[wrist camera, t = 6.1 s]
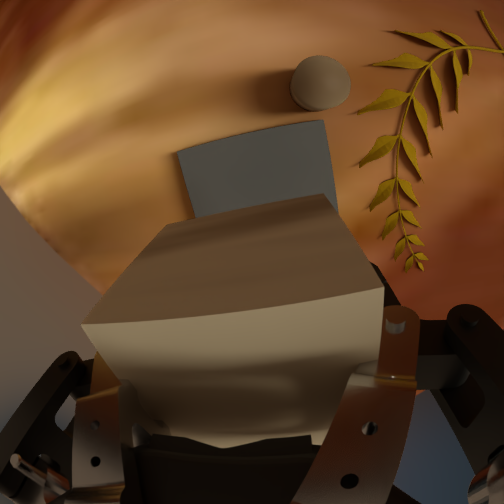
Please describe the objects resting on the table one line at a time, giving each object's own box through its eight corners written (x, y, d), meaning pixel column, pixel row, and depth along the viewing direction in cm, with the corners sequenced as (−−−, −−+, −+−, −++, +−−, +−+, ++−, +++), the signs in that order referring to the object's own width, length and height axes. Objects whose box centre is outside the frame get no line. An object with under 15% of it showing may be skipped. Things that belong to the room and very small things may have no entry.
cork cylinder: (284, 71, 17) (287, 59, 13) (330, 65, 16) (343, 53, 13) (295, 114, 19) (300, 111, 15) (340, 108, 18) (356, 105, 14)
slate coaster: (181, 150, 20) (176, 151, 19) (320, 119, 18) (323, 119, 17) (217, 270, 25) (214, 277, 24) (339, 249, 23) (342, 255, 22)
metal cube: (166, 224, 10) (80, 324, 5) (323, 193, 9) (384, 286, 4) (211, 339, 13) (183, 449, 7) (336, 322, 12) (362, 440, 6)
